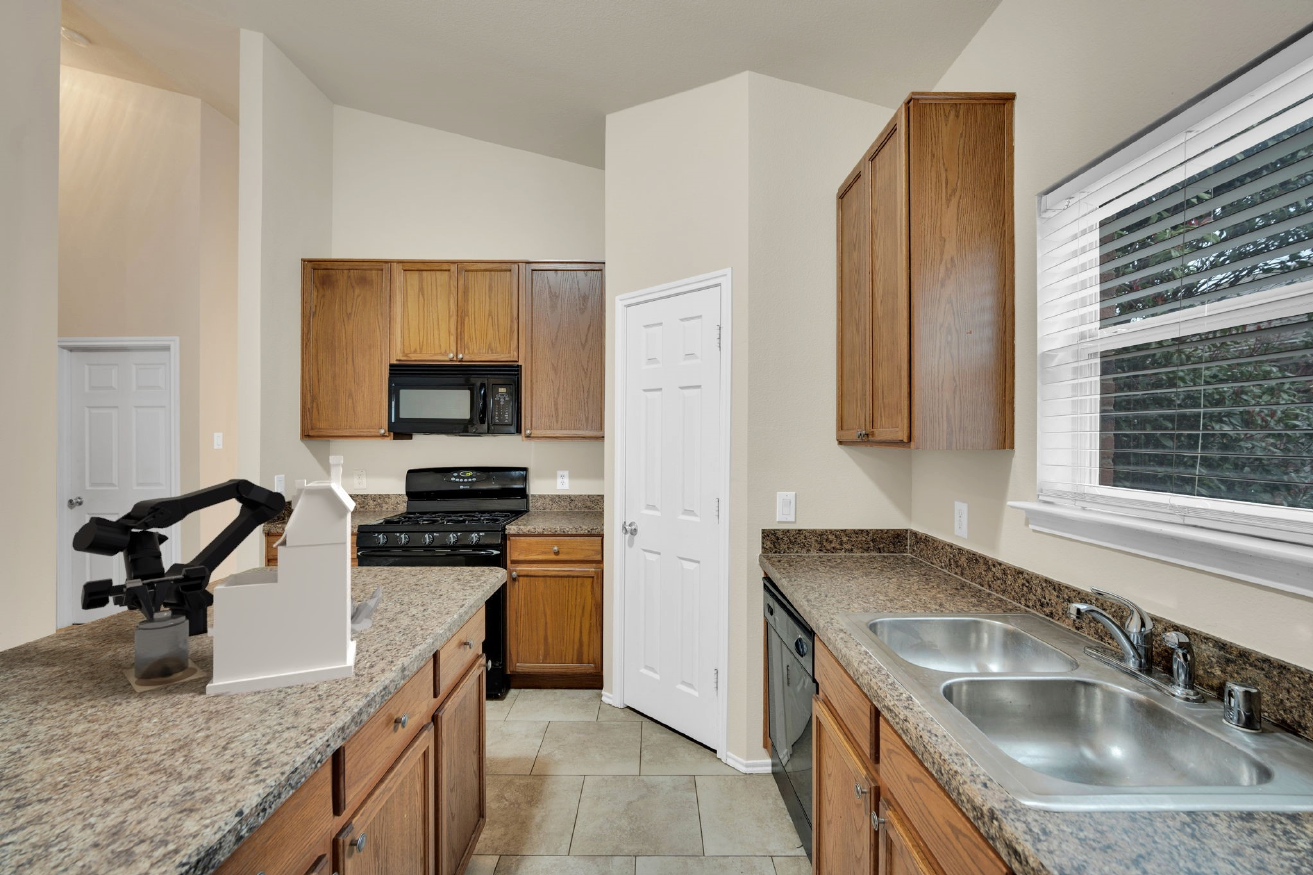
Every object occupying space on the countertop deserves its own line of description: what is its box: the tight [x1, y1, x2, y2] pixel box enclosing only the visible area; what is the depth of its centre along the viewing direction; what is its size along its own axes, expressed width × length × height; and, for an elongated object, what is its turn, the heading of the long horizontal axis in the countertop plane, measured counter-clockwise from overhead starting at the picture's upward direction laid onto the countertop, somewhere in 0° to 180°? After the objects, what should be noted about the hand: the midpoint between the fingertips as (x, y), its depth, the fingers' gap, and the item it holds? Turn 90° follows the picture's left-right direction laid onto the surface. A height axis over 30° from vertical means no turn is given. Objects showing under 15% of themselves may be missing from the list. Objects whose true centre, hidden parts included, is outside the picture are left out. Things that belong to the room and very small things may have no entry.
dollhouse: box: [205, 455, 357, 699], centre depth 109 cm, size 22×15×40 cm
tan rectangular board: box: [121, 658, 208, 693], centre depth 107 cm, size 10×14×1 cm, turn 50°
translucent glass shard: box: [351, 584, 383, 633], centre depth 136 cm, size 10×13×15 cm
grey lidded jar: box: [134, 609, 190, 679], centre depth 108 cm, size 8×8×11 cm
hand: (154, 622), depth 113 cm, fingers closed
